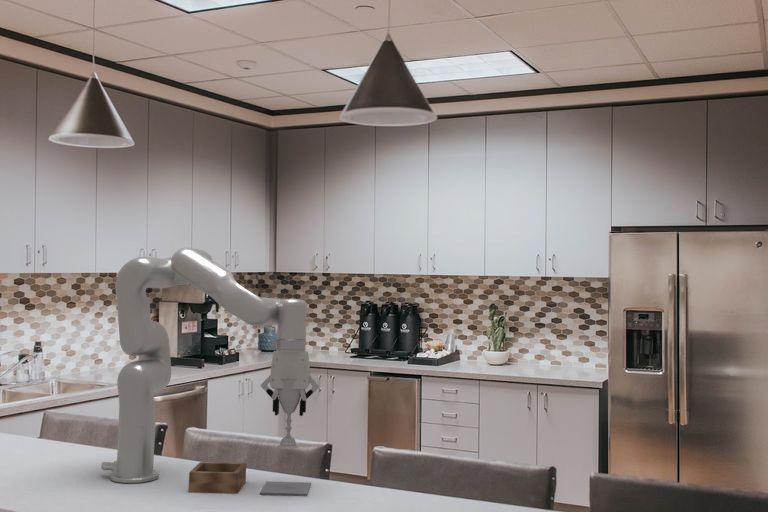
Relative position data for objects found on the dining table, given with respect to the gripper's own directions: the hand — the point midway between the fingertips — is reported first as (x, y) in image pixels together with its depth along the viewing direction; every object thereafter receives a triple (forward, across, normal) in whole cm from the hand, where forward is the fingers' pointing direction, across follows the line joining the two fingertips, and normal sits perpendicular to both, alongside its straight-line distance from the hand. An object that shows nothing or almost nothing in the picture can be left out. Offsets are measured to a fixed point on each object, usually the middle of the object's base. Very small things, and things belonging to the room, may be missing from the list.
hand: (289, 414), depth 202 cm
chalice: (+9, 0, 0) cm, 9 cm away
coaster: (+20, 0, 0) cm, 20 cm away
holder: (+19, -18, +1) cm, 27 cm away
